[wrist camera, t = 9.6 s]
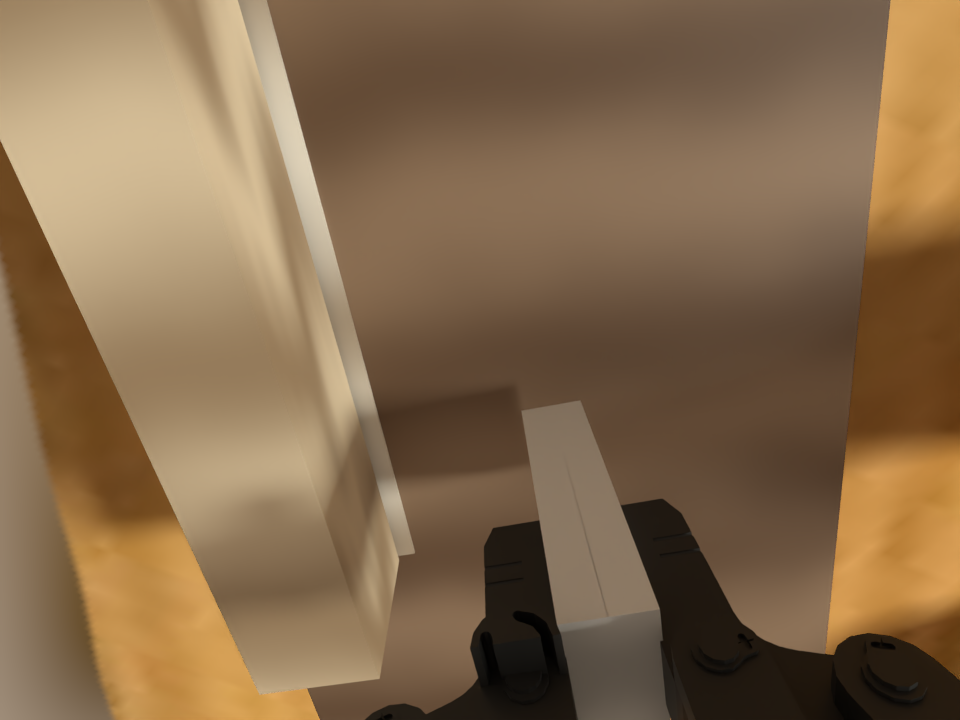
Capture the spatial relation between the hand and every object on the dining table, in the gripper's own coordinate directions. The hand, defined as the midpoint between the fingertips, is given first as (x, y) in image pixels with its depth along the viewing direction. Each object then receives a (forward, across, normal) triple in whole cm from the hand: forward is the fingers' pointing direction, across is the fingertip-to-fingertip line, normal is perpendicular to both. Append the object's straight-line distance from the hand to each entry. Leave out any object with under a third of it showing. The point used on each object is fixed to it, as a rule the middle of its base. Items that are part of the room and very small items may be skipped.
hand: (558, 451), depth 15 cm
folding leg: (+1, +7, -5) cm, 8 cm away
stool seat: (+4, +1, -3) cm, 5 cm away
